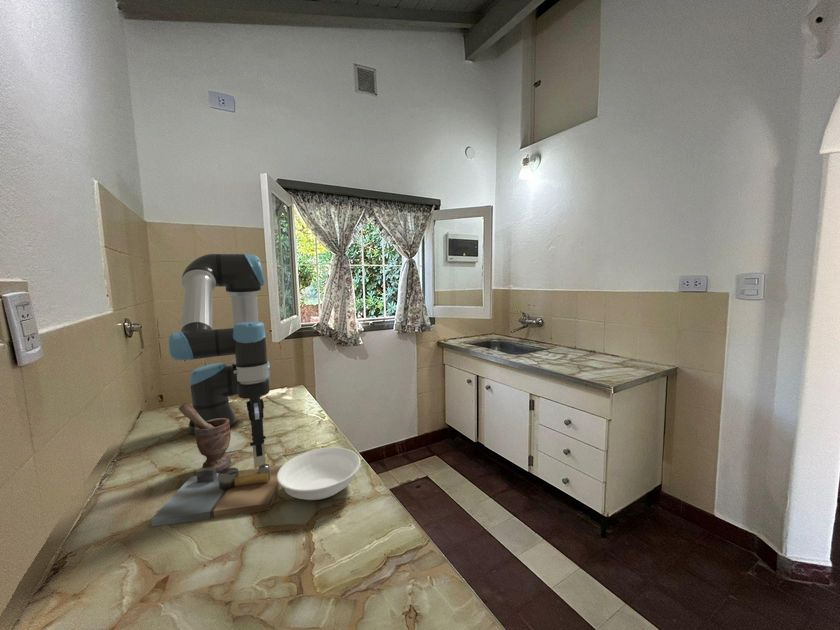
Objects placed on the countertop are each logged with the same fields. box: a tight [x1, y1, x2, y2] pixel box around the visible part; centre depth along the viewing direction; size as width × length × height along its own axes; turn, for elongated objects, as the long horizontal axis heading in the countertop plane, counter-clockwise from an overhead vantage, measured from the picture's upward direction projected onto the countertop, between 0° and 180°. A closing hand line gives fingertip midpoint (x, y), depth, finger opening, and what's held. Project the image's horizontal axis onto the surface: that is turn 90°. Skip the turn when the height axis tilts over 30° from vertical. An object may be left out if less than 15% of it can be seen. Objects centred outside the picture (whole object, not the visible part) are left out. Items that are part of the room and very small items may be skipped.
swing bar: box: [218, 463, 271, 489], centre depth 84 cm, size 12×4×4 cm, turn 100°
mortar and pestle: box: [178, 402, 232, 473], centre depth 94 cm, size 12×9×20 cm
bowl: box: [277, 447, 362, 501], centre depth 82 cm, size 20×20×6 cm
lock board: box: [150, 464, 284, 527], centre depth 82 cm, size 17×24×5 cm
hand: (259, 465), depth 90 cm, fingers closed
